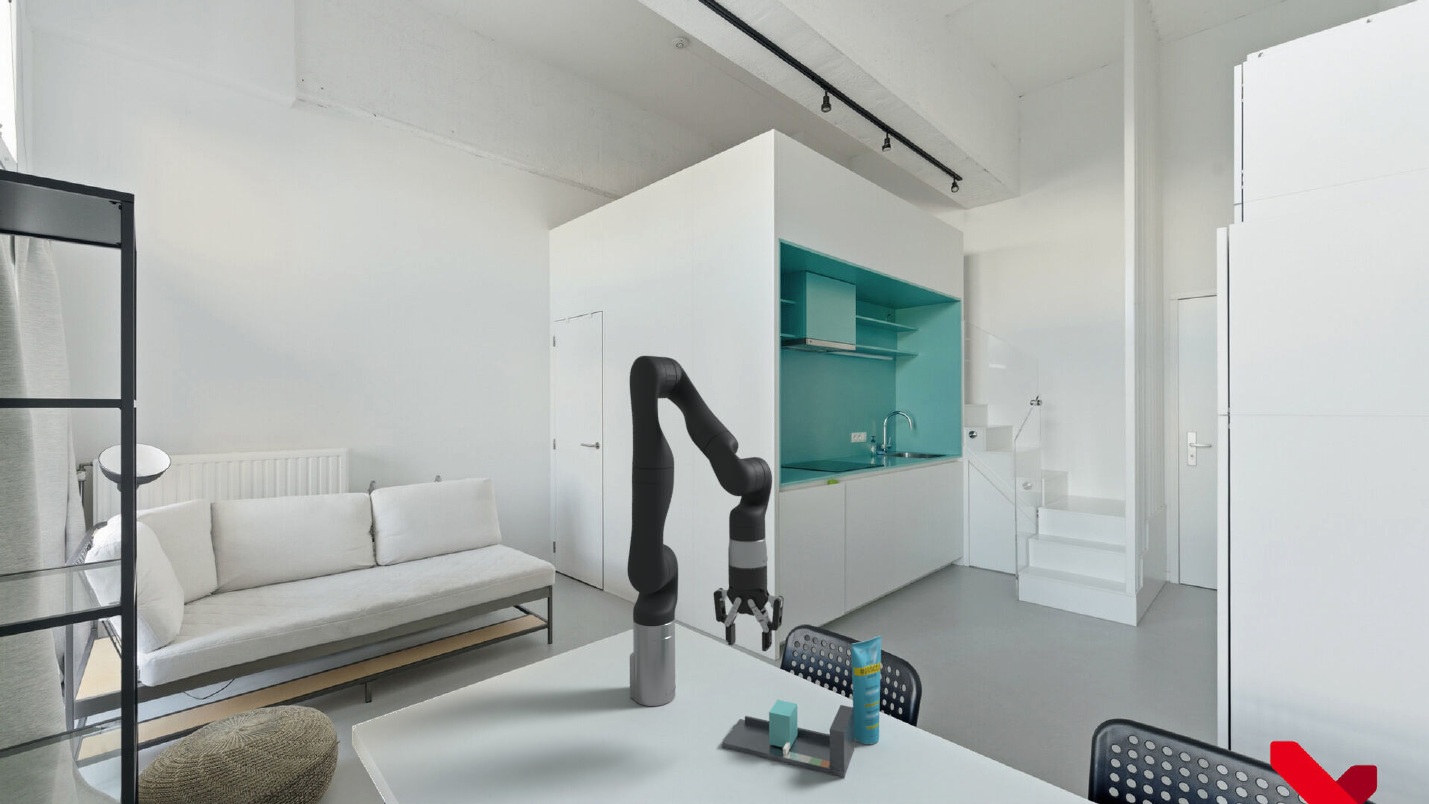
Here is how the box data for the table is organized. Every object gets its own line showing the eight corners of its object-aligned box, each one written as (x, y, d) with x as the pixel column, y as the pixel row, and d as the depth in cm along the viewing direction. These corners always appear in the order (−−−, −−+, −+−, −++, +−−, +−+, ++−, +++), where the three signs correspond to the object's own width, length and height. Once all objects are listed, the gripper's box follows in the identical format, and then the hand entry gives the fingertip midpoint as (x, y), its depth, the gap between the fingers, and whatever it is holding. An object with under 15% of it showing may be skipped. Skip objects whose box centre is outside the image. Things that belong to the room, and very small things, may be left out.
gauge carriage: (765, 750, 109) (765, 718, 109) (777, 730, 116) (777, 699, 116) (786, 755, 108) (786, 722, 108) (797, 735, 114) (797, 703, 114)
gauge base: (722, 747, 113) (722, 705, 113) (739, 723, 121) (739, 684, 121) (844, 778, 103) (843, 732, 103) (854, 750, 112) (853, 707, 112)
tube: (862, 750, 112) (861, 647, 111) (843, 738, 116) (843, 639, 116) (889, 737, 116) (888, 638, 116) (870, 726, 120) (869, 630, 120)
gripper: (705, 562, 115) (706, 648, 115) (777, 570, 109) (778, 661, 109) (721, 552, 122) (722, 634, 122) (789, 559, 116) (790, 645, 116)
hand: (748, 646), depth 116 cm, fingers open, 6 cm apart
